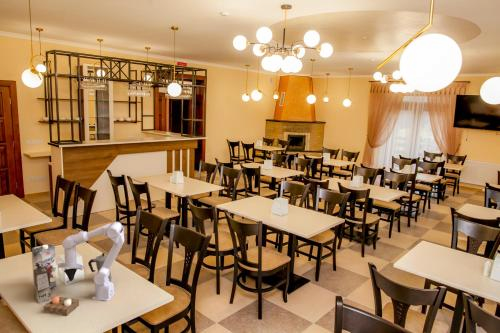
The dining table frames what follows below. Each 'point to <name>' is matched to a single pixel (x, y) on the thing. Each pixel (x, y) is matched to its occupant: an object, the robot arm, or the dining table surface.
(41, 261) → the juice carton
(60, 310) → the socket board
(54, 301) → the rust plug
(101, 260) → the coffeepot
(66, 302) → the cream plug
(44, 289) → the coffee box
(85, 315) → the dining table surface
